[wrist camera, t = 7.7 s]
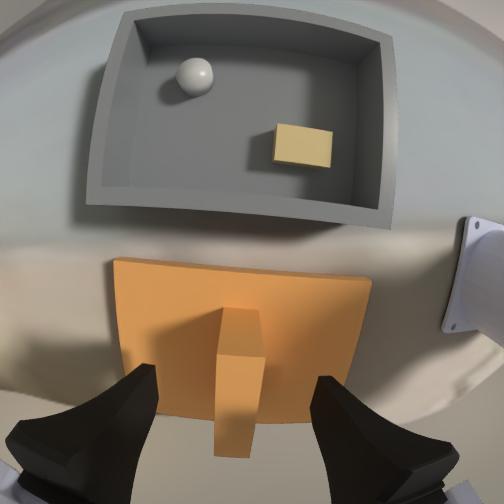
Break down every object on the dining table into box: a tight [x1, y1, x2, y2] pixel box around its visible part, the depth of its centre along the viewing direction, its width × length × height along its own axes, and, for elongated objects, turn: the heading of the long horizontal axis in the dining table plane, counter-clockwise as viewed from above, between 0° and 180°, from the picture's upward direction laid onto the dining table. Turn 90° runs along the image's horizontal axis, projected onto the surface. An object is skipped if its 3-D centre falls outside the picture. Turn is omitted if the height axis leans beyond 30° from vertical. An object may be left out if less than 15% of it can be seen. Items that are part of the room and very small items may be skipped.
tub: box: [86, 3, 398, 230], centre depth 10 cm, size 12×9×4 cm
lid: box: [113, 257, 372, 458], centre depth 12 cm, size 12×9×6 cm
